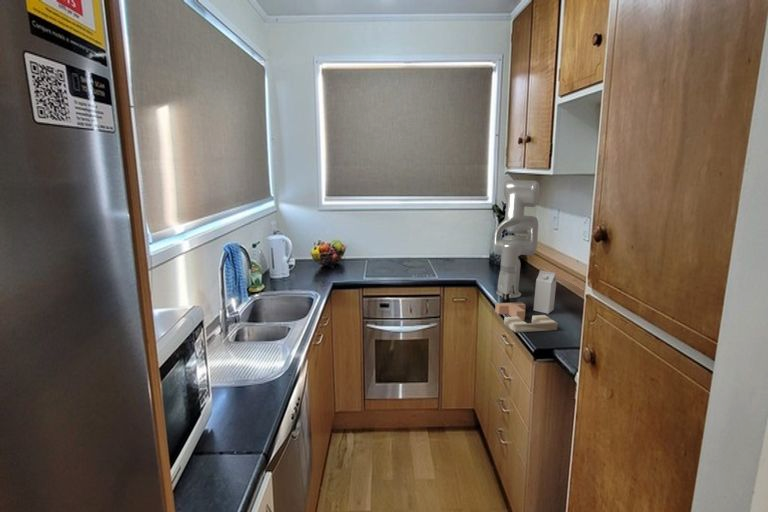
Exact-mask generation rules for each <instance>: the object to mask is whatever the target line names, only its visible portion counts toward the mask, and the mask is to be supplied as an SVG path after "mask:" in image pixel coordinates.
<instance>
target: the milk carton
mask: <svg viewBox="0 0 768 512" xmlns="http://www.w3.org/2000/svg"><path fill="white" fill-rule="evenodd" d="M557 281H558V280H557V277H556V272H551V271H547V270H541V269H540V270H539V272H538V275H537V278H536V280H535V290H534V300H533V311H535V312H539V313H542V314H543V313H544V314H551V312H553V311H554V307H555V298H556V289H557Z"/></svg>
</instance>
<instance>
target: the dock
mask: <svg viewBox="0 0 768 512" xmlns="http://www.w3.org/2000/svg"><path fill="white" fill-rule="evenodd" d="M503 319H504V320H503V324H504V326H506V327H507V328H508V329H510V330H511V331H513V332H514V333H528V332H544V331H545V332H546V331H557V330H558V324H559V323H558V321H557V322H556V321H555V320H554V319H552V318H550V317H549V316H547V315H545V314H539V315H538V314H537V315H536V314H535V315H532V317H531V322H529V323H527V322H525V320H522V319H520V318H519V317H518V316H516V317H511V316H504V318H503Z"/></svg>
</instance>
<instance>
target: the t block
mask: <svg viewBox="0 0 768 512" xmlns="http://www.w3.org/2000/svg"><path fill="white" fill-rule="evenodd" d="M526 306H527V305H526V304H525V303H524V302H523V301H522V302H521V301H520V302H518V301H517V302H510V303H502V302H497V303H495V309H494V311H495V313H496V314H498V315H509V317H516V316H518V317H519V318H520V319H522V320H523V321H525V320H526V319H525V317H526Z"/></svg>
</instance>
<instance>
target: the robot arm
mask: <svg viewBox="0 0 768 512" xmlns="http://www.w3.org/2000/svg"><path fill="white" fill-rule="evenodd" d="M503 194H504V195H503V196H504V199H505V201H506V203H505V204H506V205H505V214H504V219H503V220H502V221H501V222H500V223H499V224H498V225H497V227H496V228H495V231H494V233H493V238H492V252H493V253H494V254H495V255H500V269H499V275H498V280H497V281H498V282H497V290H496V292H495V294H496V295H497V296H499V297H501V298H502V299H501V303H511V299H515V298H520V297H521V296H522V293H521V292H520V291H519V287H520V284H519V283H520V277H521V276H520V275H521V274H520V273H521V260H520V258H519V256H521V255H523V256H533V255H535V254H536V252H537V249H538V234H539V220H538V217H536V216H533V215H525V207H526V208H535V207H536V206H537V204H538V202H539V199H540V183H539V182H538V181H537V180H525V179H524V180H523V179H521V180H519V179H511V180H507V181H505V182H504V184H503ZM504 230H506V232H507V233H509V234H512V235H505V236H504V237H502V238H500V235H501V233H502V232H503V231H504ZM513 234H516V235H513ZM519 234H520V235H519ZM526 235H527V236H526Z"/></svg>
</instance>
